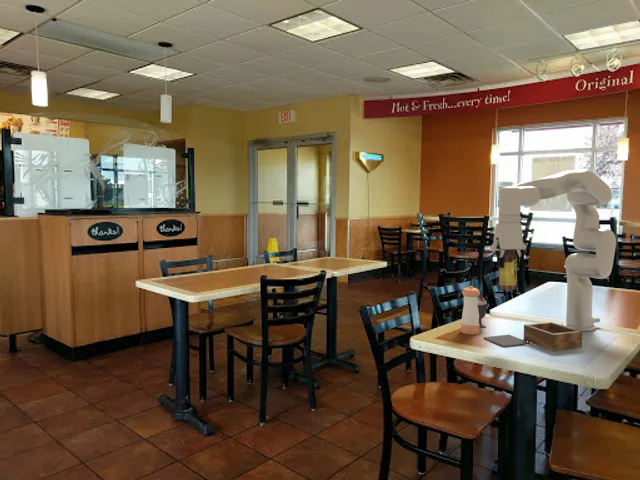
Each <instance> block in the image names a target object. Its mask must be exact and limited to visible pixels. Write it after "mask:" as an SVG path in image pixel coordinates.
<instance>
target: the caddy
mask: <svg viewBox="0 0 640 480" xmlns="http://www.w3.org/2000/svg"><path fill="white" fill-rule="evenodd" d="M523 340H525V341H528V342H531V344H533V345H535V344H536V346H538V345H539V347H541V348H543V347H544V349H546V350H549V351H551V350H552V351H551V352H557V351H565V350H566V351H567V350H573V349H574V350H575V349H581V348H583V331H579V330H576V329H572V328H569V327H566V326H563V325H562V324H559V323H555V322H552V321H549V322H538V323H529V324H523Z"/></svg>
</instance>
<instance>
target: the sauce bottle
mask: <svg viewBox="0 0 640 480" xmlns="http://www.w3.org/2000/svg"><path fill="white" fill-rule="evenodd" d="M503 257H504V268H499V267H498V278H499V279H498V281H499V282H498V285H499V289H500V290H503V291H515V290H516V289H517V283H518V280H517V279H518V275H517V274H518V271H517V269H518V267H517V257H516V254H515V251H514V250H505V252H504V254H503Z"/></svg>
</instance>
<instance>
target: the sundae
mask: <svg viewBox="0 0 640 480" xmlns="http://www.w3.org/2000/svg"><path fill="white" fill-rule="evenodd" d="M483 295H484V293H483V292H481V294H480V296H478V312H479V325H480V329H485V328H487V326H486V325H484V324H483V322H482V319H484V318H485V317H486V312H487V306H489V303H487V302H486V300H485V298H484V296H483Z"/></svg>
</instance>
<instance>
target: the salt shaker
mask: <svg viewBox="0 0 640 480" xmlns="http://www.w3.org/2000/svg"><path fill="white" fill-rule="evenodd" d="M461 293H462V296H463V308H462V315H461V323H460V331H461V333H463V334H465V335H479V334H480V333H481V332H480V330H481V328H480V325H479V312H478V297H480V296H481V293H480V290H479V289H478V288H476V287H474V286H473V285H470V286H468V287H464V288H463V289H462V291H461Z"/></svg>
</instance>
